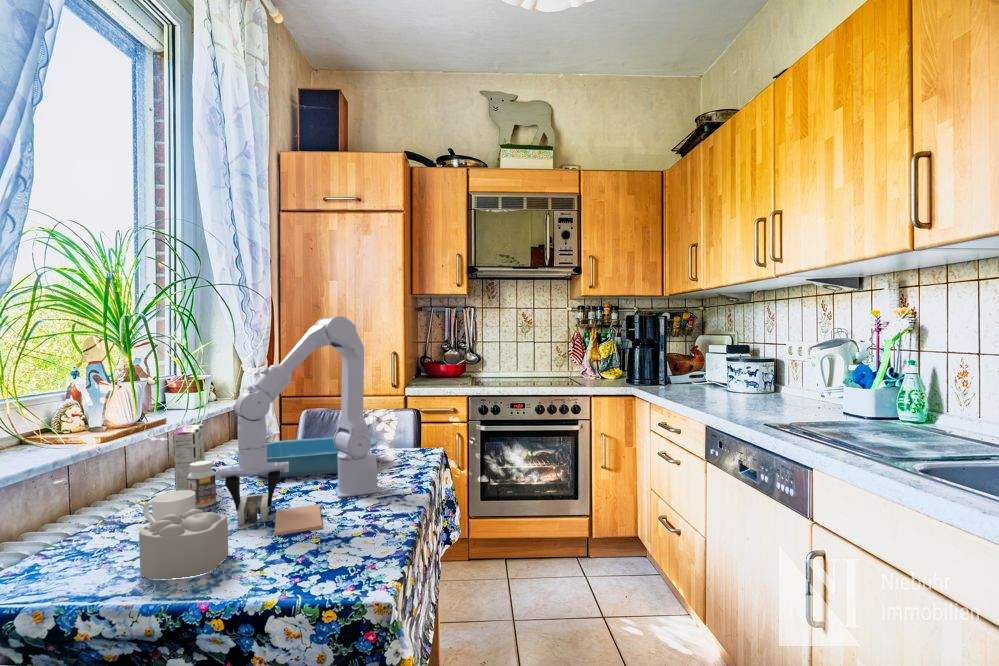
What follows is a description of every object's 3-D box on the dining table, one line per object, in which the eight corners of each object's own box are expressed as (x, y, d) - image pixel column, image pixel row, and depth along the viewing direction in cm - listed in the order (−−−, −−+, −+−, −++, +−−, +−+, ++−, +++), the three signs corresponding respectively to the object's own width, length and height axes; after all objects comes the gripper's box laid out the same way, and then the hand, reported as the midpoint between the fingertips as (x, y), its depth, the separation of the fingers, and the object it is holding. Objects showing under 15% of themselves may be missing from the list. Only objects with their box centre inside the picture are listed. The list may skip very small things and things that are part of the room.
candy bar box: (184, 487, 135) (183, 425, 135) (206, 484, 137) (204, 423, 137) (173, 500, 125) (172, 433, 125) (197, 497, 127) (195, 431, 126)
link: (269, 506, 118) (268, 492, 118) (267, 521, 109) (266, 506, 109) (242, 510, 116) (241, 496, 116) (237, 525, 107) (237, 510, 107)
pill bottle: (203, 509, 118) (202, 466, 118) (182, 508, 119) (180, 465, 119) (221, 501, 123) (220, 460, 123) (201, 500, 125) (199, 459, 124)
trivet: (319, 506, 118) (318, 504, 118) (322, 528, 105) (322, 525, 105) (276, 512, 114) (276, 510, 114) (274, 535, 101) (274, 532, 101)
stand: (257, 519, 111) (257, 500, 111) (257, 522, 109) (256, 503, 109) (248, 520, 110) (248, 502, 110) (248, 523, 108) (247, 504, 108)
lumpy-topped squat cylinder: (208, 577, 85) (206, 525, 85) (124, 583, 83) (122, 530, 83) (234, 550, 95) (232, 504, 95) (159, 555, 94) (158, 508, 94)
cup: (184, 534, 103) (183, 501, 103) (132, 537, 102) (131, 503, 102) (203, 520, 111) (202, 489, 111) (155, 522, 110) (154, 491, 110)
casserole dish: (235, 484, 137) (234, 458, 137) (257, 463, 159) (256, 440, 159) (376, 473, 145) (375, 448, 145) (378, 455, 167) (378, 433, 167)
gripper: (212, 454, 107) (214, 519, 107) (287, 446, 112) (289, 508, 112) (217, 447, 113) (219, 508, 114) (288, 440, 119) (289, 498, 119)
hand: (254, 507), depth 113 cm, fingers closed on link, 6 cm apart
